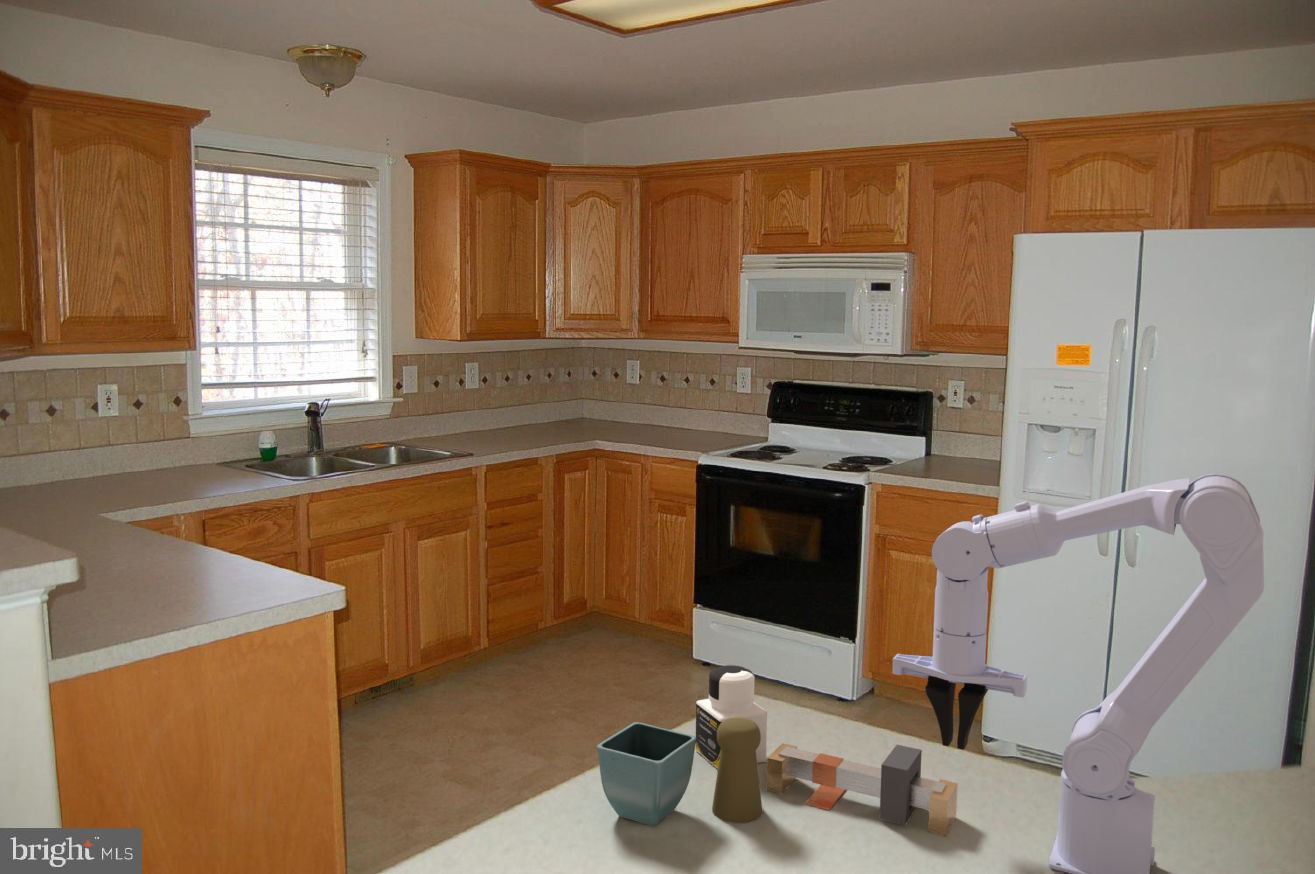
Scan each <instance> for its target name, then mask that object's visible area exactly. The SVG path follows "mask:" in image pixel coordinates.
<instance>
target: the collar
mask: <svg viewBox="0 0 1315 874" xmlns="http://www.w3.org/2000/svg"><path fill="white" fill-rule="evenodd" d="M922 752H923V751H922V749H919V748H915V747H910V746H905V745H901V744H896V745H895V746H894V748H893V749H892V750H891V752H890V753H889V754H888V756H886V758H885V760H884V761H883V762H882V763H881V765H880V766H881V767H880V768H881V792H880V798H879V799H880V800H879V820H883V821H887V822H890V823H893V824H894V823H895V824H897V825H902V826H906V825H907V823H909V820H910V818H911V817H912V815H913V814H914V812H915V810H916V809H917V807H914V806H910V805H909V793H910V782H911V780H912V779H913V777H914V776H916V777H921V774H922V773H921V771H922V754H923V753H922ZM921 778H922V777H921Z"/></svg>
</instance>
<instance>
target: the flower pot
mask: <svg viewBox="0 0 1315 874" xmlns="http://www.w3.org/2000/svg"><path fill="white" fill-rule="evenodd" d="M695 748H696V735H693V734H692V735H691V734H688V733H684V732H680V731H676V730H672V729H668V728H663V727H658V726H655V725H651V724H647V723H643V722H639V721H638V722H637V721H635V722H633V723H630V724H629V725H628V726H626V727H624V728H623V729H621V730H620V731H618V732H616V733H614V734H613V735H611V736H610V737H608V738H607V739H605V740H603V741H602V742H600V743H598V744H597V745H596V749H597V756H598V764H599V774H600V779H601V780H600V781H601V785H602V789H603V791H604V794H605V796H606V799H607V801H608V802H609V804H610V806H611V807H612V808H613V809H612V810H614V811H615V813H616V814H617V815H618V816H619V817H622V818H625V819H628V820H631V821H635V822H638V823H641V824H644V825H646V826H651V827H654V826H657V825H658V824H659V823H660V822H661V821H662V820H664V819H665V818H667V816H670V814H672V813H673V812H674V811H675V810H676V809H677V807H678V805H679V803H680V802H681V801H682V799H683V797H684V795H685V792H686V791H687V788H688V786H689V783H690V780H691V775H692V771H693V764H694V758H695V757H694V756H695V751H696V749H695Z"/></svg>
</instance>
